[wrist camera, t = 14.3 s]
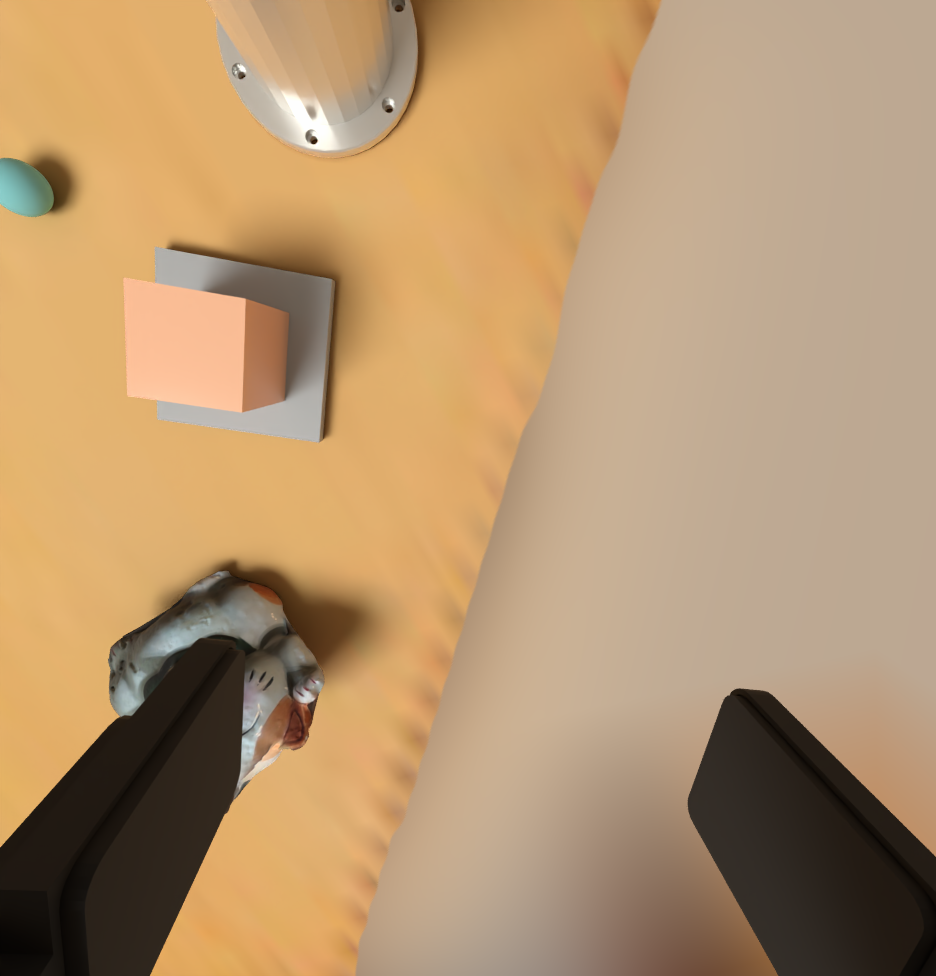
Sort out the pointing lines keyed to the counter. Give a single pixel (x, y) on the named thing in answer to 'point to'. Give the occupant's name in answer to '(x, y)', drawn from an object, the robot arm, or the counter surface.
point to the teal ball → (24, 189)
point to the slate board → (306, 341)
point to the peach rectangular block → (203, 348)
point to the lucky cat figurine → (255, 629)
